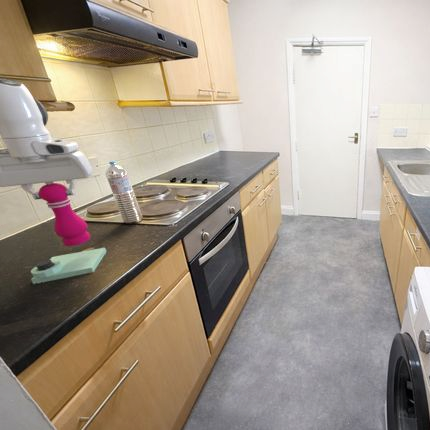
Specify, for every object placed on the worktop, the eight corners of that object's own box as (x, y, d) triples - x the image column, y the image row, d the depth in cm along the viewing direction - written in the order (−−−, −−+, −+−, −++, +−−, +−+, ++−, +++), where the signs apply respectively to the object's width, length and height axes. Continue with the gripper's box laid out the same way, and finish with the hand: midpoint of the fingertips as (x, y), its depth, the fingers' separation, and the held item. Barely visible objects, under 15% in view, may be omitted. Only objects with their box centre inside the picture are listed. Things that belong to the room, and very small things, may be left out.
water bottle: (122, 220, 110) (99, 161, 100) (141, 215, 114) (121, 158, 104) (125, 226, 106) (101, 164, 95) (145, 220, 110) (124, 161, 99)
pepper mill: (60, 241, 81) (28, 179, 72) (90, 232, 86) (63, 173, 77) (63, 250, 77) (29, 184, 68) (94, 240, 81) (66, 178, 73)
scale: (32, 285, 74) (25, 275, 72) (54, 261, 84) (49, 252, 83) (93, 273, 78) (88, 263, 77) (106, 251, 89) (102, 242, 87)
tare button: (36, 272, 74) (33, 267, 73) (42, 266, 77) (39, 261, 76) (50, 269, 75) (47, 264, 74) (56, 263, 78) (53, 258, 77)
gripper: (-32, 153, 63) (0, 206, 69) (74, 145, 69) (95, 195, 75) (-13, 148, 68) (15, 198, 74) (84, 142, 75) (102, 188, 81)
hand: (56, 196), depth 75 cm, fingers closed on pepper mill, 6 cm apart
